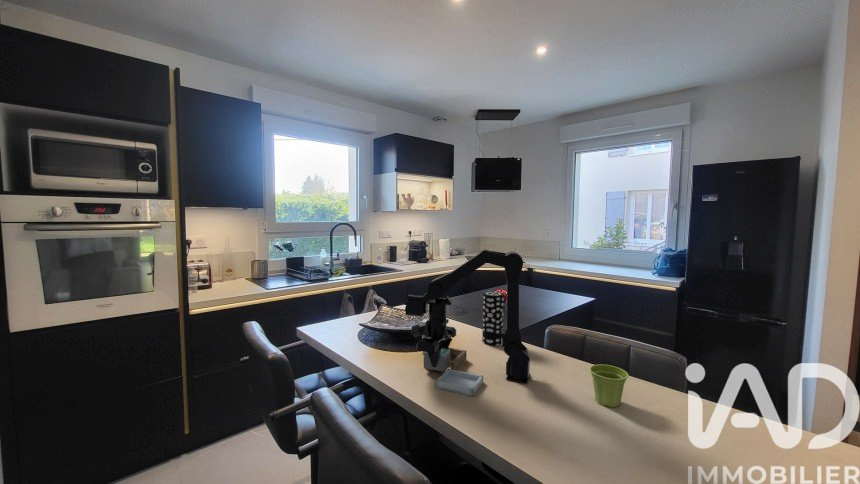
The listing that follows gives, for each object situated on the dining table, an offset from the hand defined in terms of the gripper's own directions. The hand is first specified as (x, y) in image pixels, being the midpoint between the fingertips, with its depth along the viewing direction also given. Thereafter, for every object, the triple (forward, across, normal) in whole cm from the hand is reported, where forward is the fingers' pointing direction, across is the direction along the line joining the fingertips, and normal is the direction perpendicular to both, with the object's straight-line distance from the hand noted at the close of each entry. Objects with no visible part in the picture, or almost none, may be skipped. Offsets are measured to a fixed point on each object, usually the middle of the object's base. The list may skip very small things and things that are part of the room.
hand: (437, 363), depth 115 cm
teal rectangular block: (+1, 0, 0) cm, 1 cm away
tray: (+2, +6, +10) cm, 12 cm away
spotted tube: (+3, -35, +9) cm, 36 cm away
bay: (+2, -7, 0) cm, 7 cm away
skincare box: (+3, -14, -9) cm, 17 cm away
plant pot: (+3, -3, +50) cm, 50 cm away
